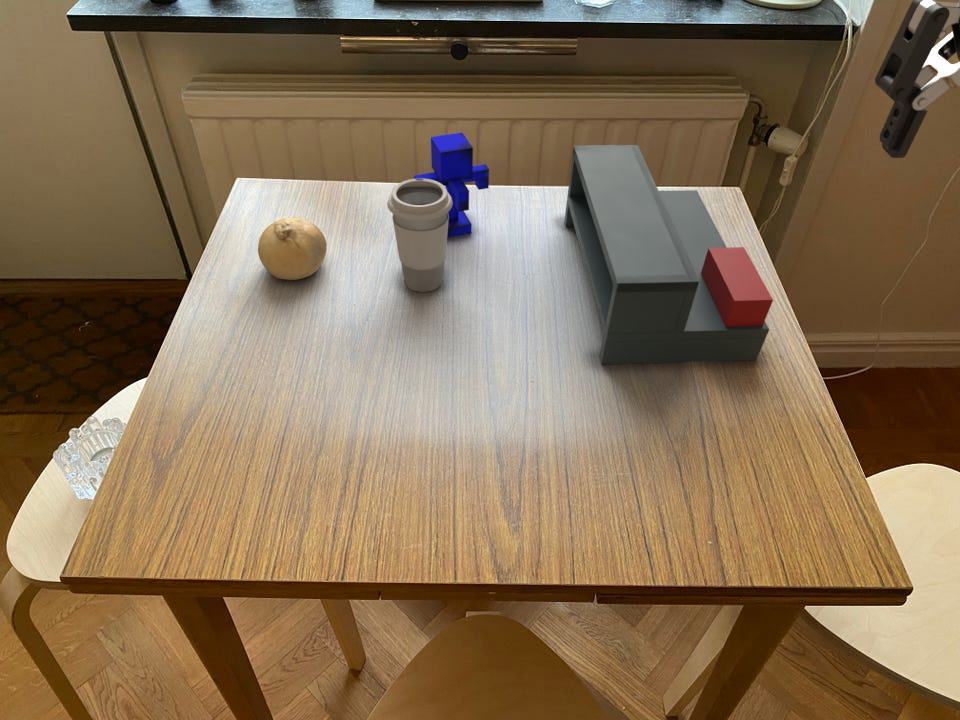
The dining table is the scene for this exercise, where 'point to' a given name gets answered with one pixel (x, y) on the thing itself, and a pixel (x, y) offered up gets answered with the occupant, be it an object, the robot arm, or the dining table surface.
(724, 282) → the red rectangular block
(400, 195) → the cup
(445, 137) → the figurine
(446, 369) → the dining table surface
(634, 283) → the shelf
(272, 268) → the onion
